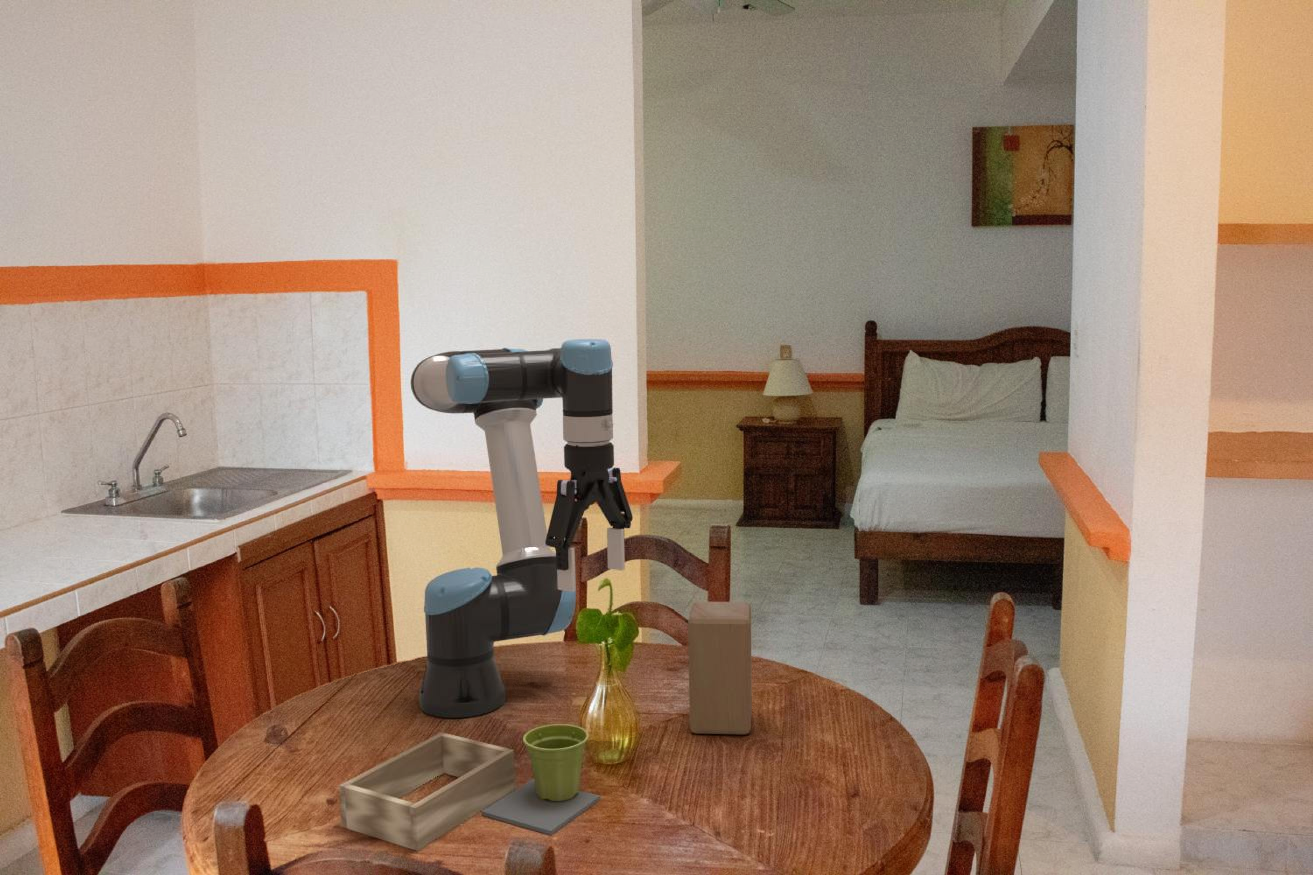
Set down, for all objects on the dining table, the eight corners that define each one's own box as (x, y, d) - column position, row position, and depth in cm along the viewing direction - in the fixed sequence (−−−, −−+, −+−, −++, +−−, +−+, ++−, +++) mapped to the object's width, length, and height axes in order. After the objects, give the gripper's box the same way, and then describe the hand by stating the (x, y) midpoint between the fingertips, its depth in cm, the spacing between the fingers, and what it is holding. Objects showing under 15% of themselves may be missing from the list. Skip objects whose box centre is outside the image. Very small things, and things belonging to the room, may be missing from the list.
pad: (481, 815, 161) (481, 811, 161) (533, 782, 171) (533, 778, 171) (551, 835, 155) (551, 830, 155) (600, 799, 165) (600, 795, 165)
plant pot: (517, 785, 169) (515, 729, 168) (578, 774, 173) (576, 719, 171) (535, 812, 160) (533, 753, 159) (599, 799, 164) (597, 742, 163)
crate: (341, 826, 159) (339, 785, 158) (443, 769, 176) (441, 731, 176) (417, 850, 152) (415, 808, 151) (515, 788, 169) (514, 749, 169)
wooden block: (751, 713, 197) (750, 600, 194) (750, 736, 187) (749, 618, 184) (693, 712, 198) (691, 599, 195) (689, 735, 188) (687, 617, 185)
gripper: (560, 456, 160) (565, 603, 163) (652, 433, 181) (654, 563, 184) (518, 452, 164) (523, 596, 167) (612, 430, 185) (615, 558, 188)
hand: (592, 579), depth 176 cm, fingers open, 13 cm apart
